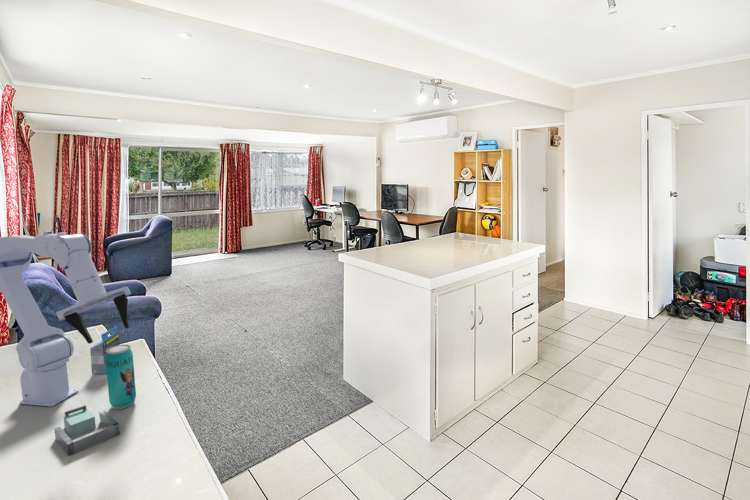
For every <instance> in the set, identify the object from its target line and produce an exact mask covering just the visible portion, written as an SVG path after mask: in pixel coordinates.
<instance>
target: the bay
mask: <svg viewBox="0 0 750 500" xmlns="http://www.w3.org/2000/svg"><path fill="white" fill-rule="evenodd" d="M98 414H99V422H100V423H101V424H102V425H103V426H104V427H101V428H100V429H98V430H95V431H92V432H90V433H87V434H85V435H82V436H80V437H77V438H74V439H71V438H70V436H69V435H68V434H67V433H66V432H65V430H64V429H63V428H62V426H57V427H55V428H54V429H53V430H54V437H55V441H57V443H58V445H59V446H61V448H62V449H63V450H64V452H66V454H67V455H68V457H69V456H72V455H75V454H77V453H79V452H81V451H84V450H87V449H88V448H90V447H93V446H96V445H97V444H100V443H103V442H106V441H107V440H109V439H113V438H114V437H117V436H120V435H121V428H120V422H118V421H117V420H116V419H115V418H113V417H112V415H110V414H109V413H108V412H107V411H106V410H105V409H104V410H101V411H99V412H98Z"/></svg>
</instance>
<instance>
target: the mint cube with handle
mask: <svg viewBox="0 0 750 500" xmlns="http://www.w3.org/2000/svg"><path fill="white" fill-rule="evenodd" d="M63 423H64V425H63V426H64V428H65V430H66V431H67V433H68V434H69V435H70V436H71V437H72V438H73V437H76V436H78V435H80V434H83V433H86V432H89V431H91V430H94V429H96V428H97V427H96V425H97V424H96V417H95V415H94V414H93V413H92V412H91V411H90V410H89V409H88V408H87V405H86V404H85V405H82V406H79V407H76V408H73V409H70V410H67V411H64V416H63Z"/></svg>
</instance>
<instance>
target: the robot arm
mask: <svg viewBox="0 0 750 500" xmlns="http://www.w3.org/2000/svg"><path fill="white" fill-rule="evenodd" d="M92 247H93V246H92V243H91V240H90V237H88V236H87V235H86V234H83V233H81V232H79V233H75V234H67V232H57V233H54V231H53V230H46V231H45V230H44V231H43V232H42V233H39V234H38V235H35V236H32V235H28V234H21V235H11V236H2V237H1V236H0V292H1V294H2V296H3V298H4V300H5V301H6V303H7V305H8V307H9V309H10V311H11V313H12V314H13V317H14V318H15V320H16V322H17V324H18V326H19V328H20V330H21V331H22V333H23V334H24V335H23V337H22V338H21V339H20V340H19V342H17V344H16V348H15V349H16V350H15V351H16V353H17V355H18V362H19V364H20V365H21V367H22V368H23V371H22V372H21V374H20V387H21V389H20V390H21V396H22V397H21V398H22V400H20V401H19V404H21V405H31V406H40V407H41V406H42V407H53V406H55V405H57V404H59V403H60V402H62V401H64V400H66V399H68V398H69V397H71V396H73V395H74V394H76V393H78V392H79V389H74V388H70V386H69V377H68V376H69V375H68V374H69V373H68V368H67V367H68V366H67V363H69V362H70V358H71V357H72V356H73V354H74V350H75V349H74V347H75V346H74V344H73V341H72V339H71V338H70V337H68V336H67V335H66V334H65V332H64V330H63V329H61V328H58V327H54V326H50V325H49V324H48V322H47V320H46V318H45V317H44V315H43V312H42V311H41V309H40V307H39V305H38V304H37V302H36V300H35V299H34V296H33V294H32V292H31V290H30V289H29V287H28V285H27V283H26V281H25V280H24V278H23V276H22V274H23V273H24V272H26V271H28V270H29V268H30V265H31V262H32V259H33V256H34V254H36V255H38V256H39V257H44V258H45V257H46V258H52V259H53V260H54V261H55V262H56V263H57V264H58V267H59V268H60V269H63V270H64V273H65V276H66V277H67V280H68V283H69V284H70V286H71V289H72V292H73V294H74V295H75V297H76V300H77V303H75V304H73V305H71V306H68V307H66V308H63V309H61V310H58V311H56V312H55V313H56V316H57V319H58V320H59V321H65V322H66V323H68V324H69V325H71V327H73V328H74V329H75V330H77V332H79V334H80V335H81V336H82V337H83V338H84V340H85V341H86V343H87V344H89V345H90V344H92V343H94V340H93V337H92V335H91V334H90V332H89V331H88V328H87V325H86V323H85V321H84V318H83V315H82V314H81V313H84V312H87V311H90V310H92V309H95V308H97V307H98V308H99V307H100V306H102V305H105V304H108V303H110V302H113V303H114V304H115V306H116V309H117V311H118V313H119V315H120V319H121V321H122V323H123V327H124V328H125V329H129V328H130V325H129V319H128V303H129V299H128V296H131V295H132V293H131V291H130V288H129V287H128V286H123V287H120V288H117V289H114V290H110V291H106V288H105V286H104V284H103V281H102V279H101V277H100V275H99V273H98V270H97V268H96V266H95V263H94V261H93V259H92V257H91V253H92Z"/></svg>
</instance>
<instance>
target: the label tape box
mask: <svg viewBox="0 0 750 500" xmlns="http://www.w3.org/2000/svg"><path fill="white" fill-rule="evenodd" d="M110 334H111V335H110ZM100 336H101V340H100V341H99V342H98V343H96V344H94V345H93V346H92V347H90V349H89V350H90V351H89V353H90V364H91V365H90V367H91V375H96V376H97V375H98V376H100V375H107V371H106V361H105V356H106V353H107V352H106V350H107V349H108V348H110V347H113V346H117V345H120V339H119V338H120V335H119V327H118V325H115V326H114V327H112V328H110V329H109V330H107V331H105V332H104V333H102V334H100Z"/></svg>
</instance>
